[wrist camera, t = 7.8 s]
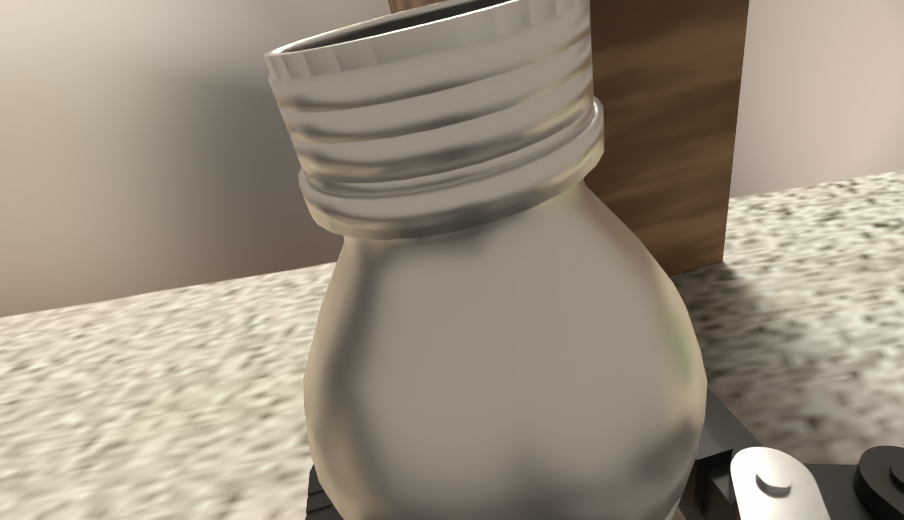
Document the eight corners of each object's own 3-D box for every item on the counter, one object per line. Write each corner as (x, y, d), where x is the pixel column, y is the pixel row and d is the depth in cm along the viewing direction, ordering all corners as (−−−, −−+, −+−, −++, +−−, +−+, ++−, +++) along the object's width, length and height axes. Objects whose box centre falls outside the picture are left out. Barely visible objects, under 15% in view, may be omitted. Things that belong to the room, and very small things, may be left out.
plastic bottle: (693, 624, 16) (786, -82, 6) (644, 914, 11) (668, 50, 1) (522, 538, 19) (390, 7, 9) (434, 733, 15) (-13, 124, 5)
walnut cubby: (935, 409, 26) (1315, -383, 11) (548, 535, 25) (404, -163, 10) (711, 252, 42) (746, -158, 28) (470, 324, 41) (372, -63, 26)
